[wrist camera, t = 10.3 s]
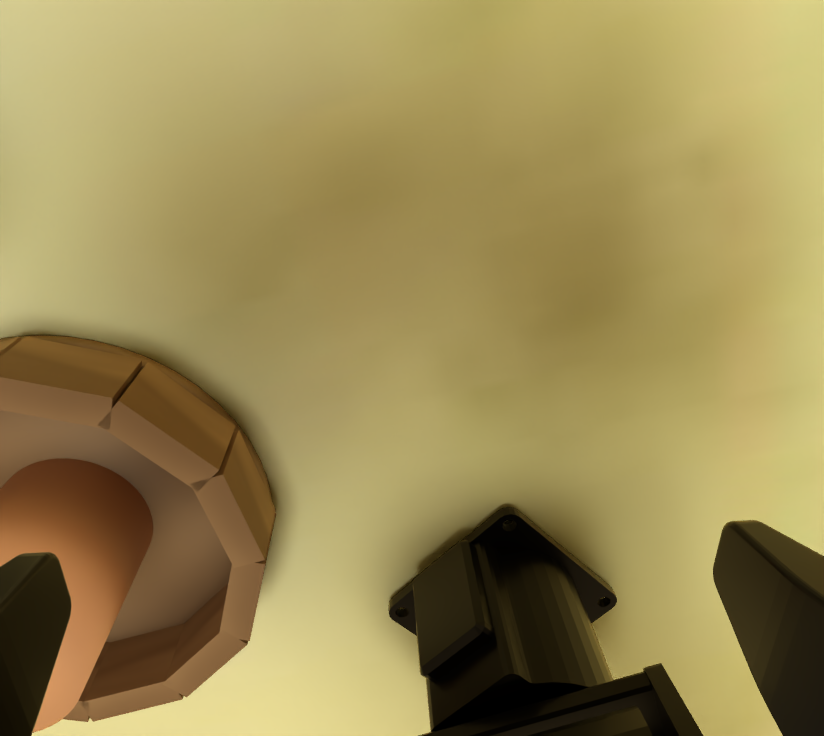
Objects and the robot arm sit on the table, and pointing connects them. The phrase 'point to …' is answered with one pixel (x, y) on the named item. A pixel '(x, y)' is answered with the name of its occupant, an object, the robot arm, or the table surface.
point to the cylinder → (77, 556)
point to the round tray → (166, 498)
